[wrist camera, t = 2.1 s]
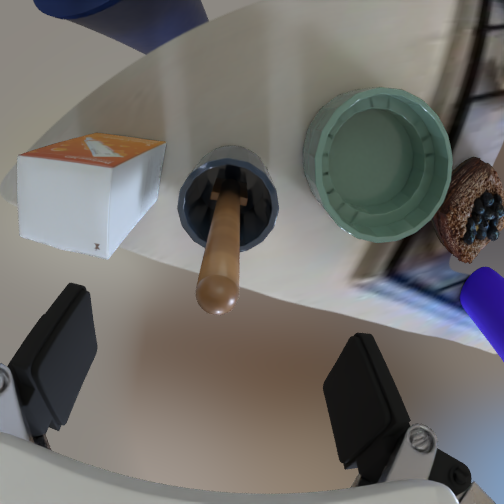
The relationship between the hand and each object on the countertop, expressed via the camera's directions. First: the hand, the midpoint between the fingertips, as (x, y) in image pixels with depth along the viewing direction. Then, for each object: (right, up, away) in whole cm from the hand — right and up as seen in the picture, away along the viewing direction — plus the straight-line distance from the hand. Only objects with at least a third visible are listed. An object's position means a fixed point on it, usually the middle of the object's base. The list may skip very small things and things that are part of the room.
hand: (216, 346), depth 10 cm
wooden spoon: (-1, +10, +18) cm, 21 cm away
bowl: (+13, +13, +18) cm, 26 cm away
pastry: (+29, +9, +21) cm, 36 cm away
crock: (-1, +10, +19) cm, 21 cm away
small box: (-12, +12, +18) cm, 24 cm away
